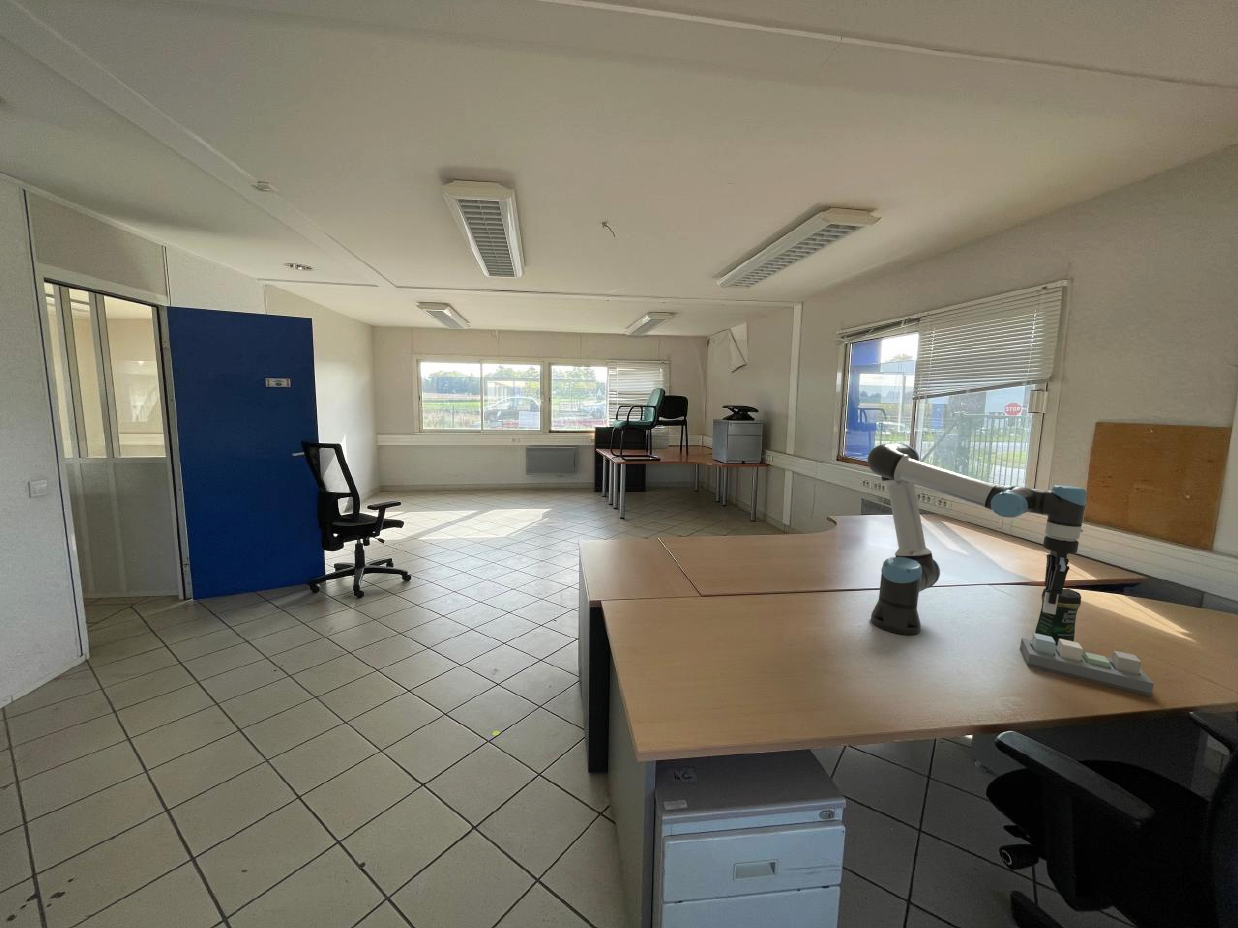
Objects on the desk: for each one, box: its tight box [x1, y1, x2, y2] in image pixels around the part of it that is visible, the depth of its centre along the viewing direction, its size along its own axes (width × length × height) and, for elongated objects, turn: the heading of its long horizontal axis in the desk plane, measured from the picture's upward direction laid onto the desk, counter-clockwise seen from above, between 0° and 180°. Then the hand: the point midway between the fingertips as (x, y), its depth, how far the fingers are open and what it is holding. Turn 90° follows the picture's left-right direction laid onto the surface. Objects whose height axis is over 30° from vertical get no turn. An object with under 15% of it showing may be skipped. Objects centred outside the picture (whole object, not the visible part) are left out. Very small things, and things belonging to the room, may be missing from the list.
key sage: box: [1083, 651, 1110, 668], centre depth 138 cm, size 4×4×4 cm
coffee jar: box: [1034, 587, 1082, 646], centre depth 157 cm, size 10×8×19 cm
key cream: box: [1057, 639, 1084, 661], centre depth 141 cm, size 4×4×4 cm
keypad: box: [1019, 637, 1155, 698], centre depth 140 cm, size 26×12×4 cm, turn 58°
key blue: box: [1031, 632, 1056, 655], centre depth 144 cm, size 4×4×4 cm
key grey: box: [1111, 650, 1142, 675], centre depth 134 cm, size 4×4×4 cm
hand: (1048, 612), depth 142 cm, fingers closed
